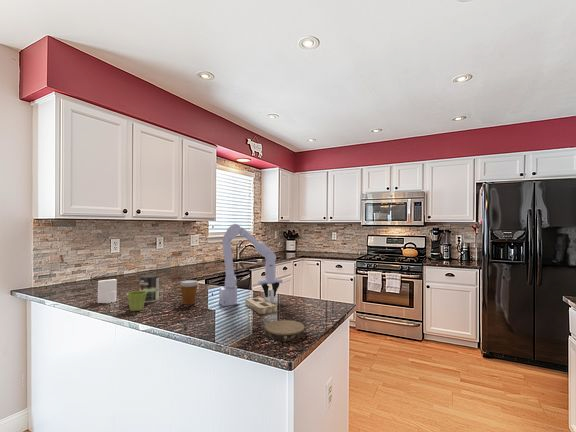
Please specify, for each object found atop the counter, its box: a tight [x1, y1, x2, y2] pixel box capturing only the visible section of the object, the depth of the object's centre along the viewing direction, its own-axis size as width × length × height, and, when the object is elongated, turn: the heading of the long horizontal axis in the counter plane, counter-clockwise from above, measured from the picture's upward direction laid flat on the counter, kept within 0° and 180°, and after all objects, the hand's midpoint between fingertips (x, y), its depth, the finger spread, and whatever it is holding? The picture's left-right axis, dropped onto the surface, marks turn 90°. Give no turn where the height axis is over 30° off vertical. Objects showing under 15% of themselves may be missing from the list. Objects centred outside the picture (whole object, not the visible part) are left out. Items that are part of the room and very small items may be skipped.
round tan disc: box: [264, 319, 305, 342], centre depth 120 cm, size 16×16×3 cm
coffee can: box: [138, 273, 160, 304], centre depth 171 cm, size 10×10×14 cm
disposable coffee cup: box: [179, 279, 199, 305], centre depth 166 cm, size 10×10×12 cm
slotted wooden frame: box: [244, 297, 278, 315], centre depth 156 cm, size 9×20×3 cm, turn 29°
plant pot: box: [126, 290, 147, 312], centre depth 152 cm, size 9×9×9 cm
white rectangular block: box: [97, 278, 118, 304], centre depth 168 cm, size 9×9×12 cm
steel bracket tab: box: [266, 288, 275, 304], centre depth 169 cm, size 2×5×7 cm, turn 29°
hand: (270, 296), depth 169 cm, fingers open, 4 cm apart
